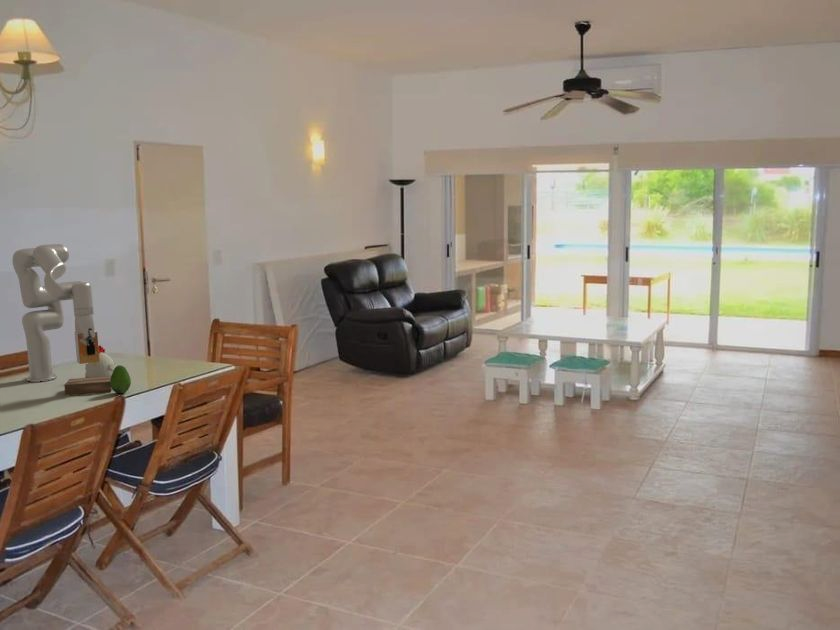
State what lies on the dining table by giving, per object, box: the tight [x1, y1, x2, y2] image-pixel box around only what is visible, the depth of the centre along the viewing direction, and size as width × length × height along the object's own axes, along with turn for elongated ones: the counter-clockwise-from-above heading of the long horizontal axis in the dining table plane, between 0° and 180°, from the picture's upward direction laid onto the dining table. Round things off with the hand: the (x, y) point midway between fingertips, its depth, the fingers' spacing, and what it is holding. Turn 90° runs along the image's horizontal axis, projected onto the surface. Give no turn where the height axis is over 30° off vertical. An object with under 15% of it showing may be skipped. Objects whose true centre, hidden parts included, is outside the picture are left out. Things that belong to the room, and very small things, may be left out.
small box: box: [74, 330, 100, 365], centre depth 336 cm, size 8×6×13 cm
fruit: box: [110, 365, 132, 394], centre depth 332 cm, size 8×8×12 cm
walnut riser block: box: [64, 376, 113, 397], centre depth 339 cm, size 12×18×5 cm, turn 105°
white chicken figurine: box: [84, 345, 117, 378], centre depth 363 cm, size 14×14×15 cm
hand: (87, 353), depth 337 cm, fingers closed on small box, 6 cm apart
